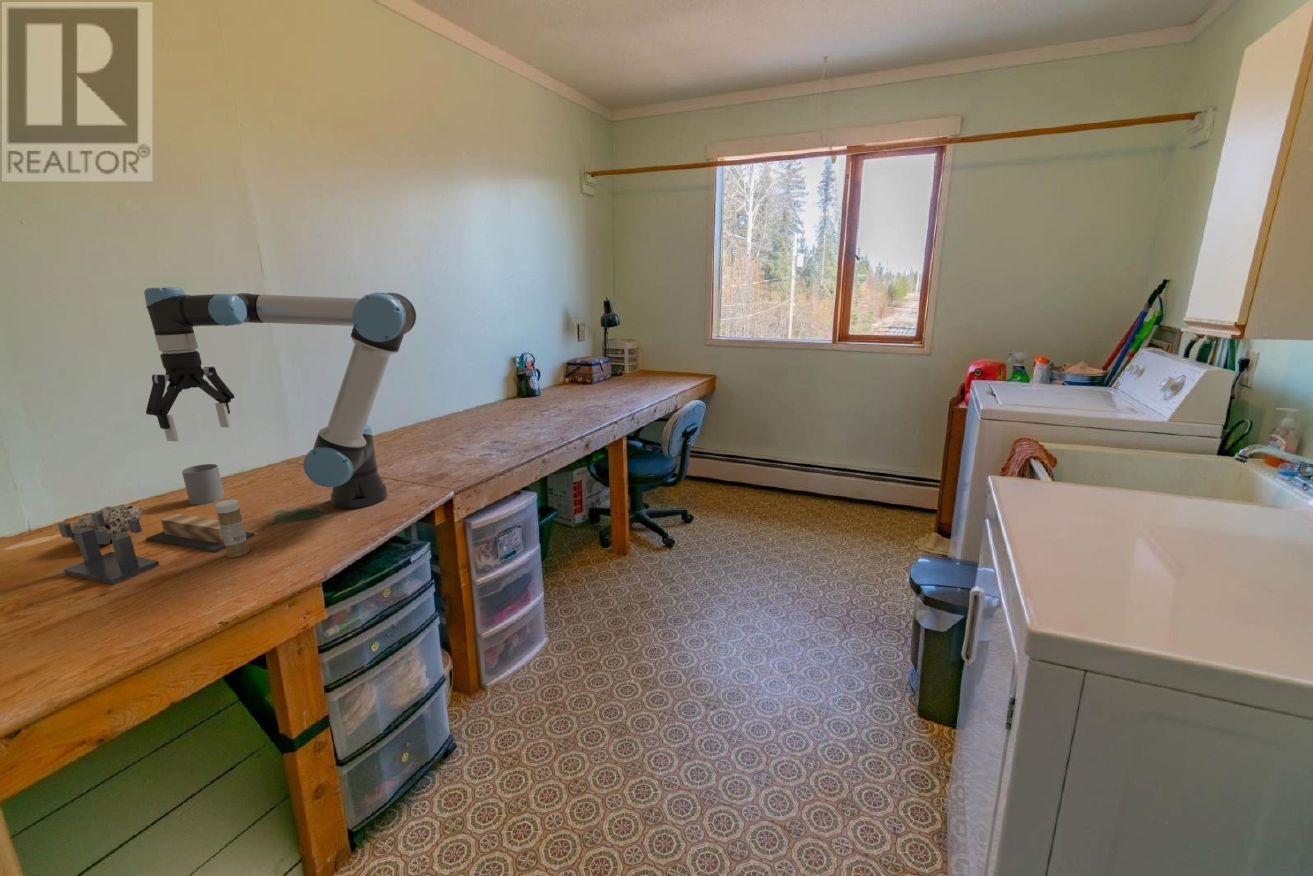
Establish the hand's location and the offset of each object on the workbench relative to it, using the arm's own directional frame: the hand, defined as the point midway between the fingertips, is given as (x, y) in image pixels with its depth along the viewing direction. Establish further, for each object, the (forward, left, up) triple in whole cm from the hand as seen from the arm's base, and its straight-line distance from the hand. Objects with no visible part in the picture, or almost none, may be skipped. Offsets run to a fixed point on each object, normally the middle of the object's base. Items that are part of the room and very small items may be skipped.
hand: (200, 433), depth 143 cm
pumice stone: (+18, +14, -26) cm, 35 cm away
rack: (-1, +25, -26) cm, 36 cm away
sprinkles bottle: (-21, +11, -26) cm, 35 cm away
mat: (-3, +7, -26) cm, 27 cm away
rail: (-3, +7, -25) cm, 26 cm away
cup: (+23, -13, -26) cm, 37 cm away
